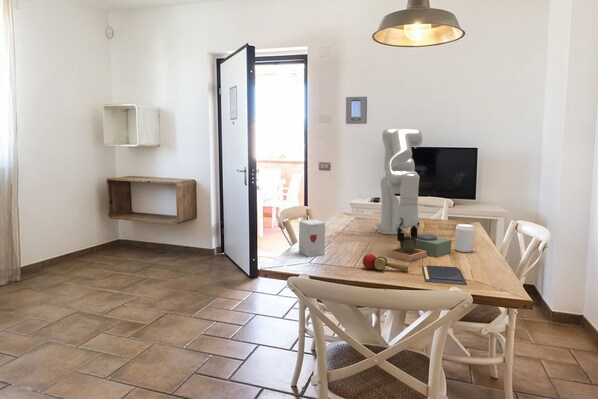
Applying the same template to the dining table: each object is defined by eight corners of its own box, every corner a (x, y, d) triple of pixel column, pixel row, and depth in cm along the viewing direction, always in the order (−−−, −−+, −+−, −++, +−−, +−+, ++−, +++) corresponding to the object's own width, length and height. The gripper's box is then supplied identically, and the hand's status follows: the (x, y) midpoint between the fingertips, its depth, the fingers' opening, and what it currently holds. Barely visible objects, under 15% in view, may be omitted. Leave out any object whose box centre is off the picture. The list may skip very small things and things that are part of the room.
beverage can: (472, 249, 198) (474, 224, 196) (473, 253, 190) (475, 227, 188) (454, 247, 200) (455, 223, 199) (454, 252, 193) (456, 226, 191)
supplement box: (307, 257, 184) (307, 224, 182) (298, 252, 192) (298, 220, 190) (325, 254, 188) (325, 222, 186) (315, 250, 196) (315, 219, 194)
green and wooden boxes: (382, 254, 188) (382, 239, 187) (417, 245, 205) (417, 231, 204) (416, 263, 174) (417, 247, 173) (450, 252, 192) (451, 237, 191)
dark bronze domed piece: (416, 257, 181) (417, 239, 180) (399, 256, 183) (399, 238, 181) (415, 253, 188) (416, 235, 187) (398, 252, 190) (399, 235, 189)
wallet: (467, 281, 148) (423, 278, 152) (467, 287, 148) (423, 283, 152) (461, 265, 167) (421, 263, 171) (460, 270, 168) (421, 267, 171)
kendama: (407, 271, 168) (363, 262, 173) (410, 257, 166) (365, 248, 171) (406, 281, 161) (360, 270, 166) (408, 266, 159) (362, 256, 164)
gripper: (413, 198, 190) (411, 234, 193) (389, 202, 179) (388, 241, 182) (427, 200, 184) (425, 237, 187) (404, 204, 173) (402, 244, 176)
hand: (407, 239), depth 185 cm, fingers open, 9 cm apart
